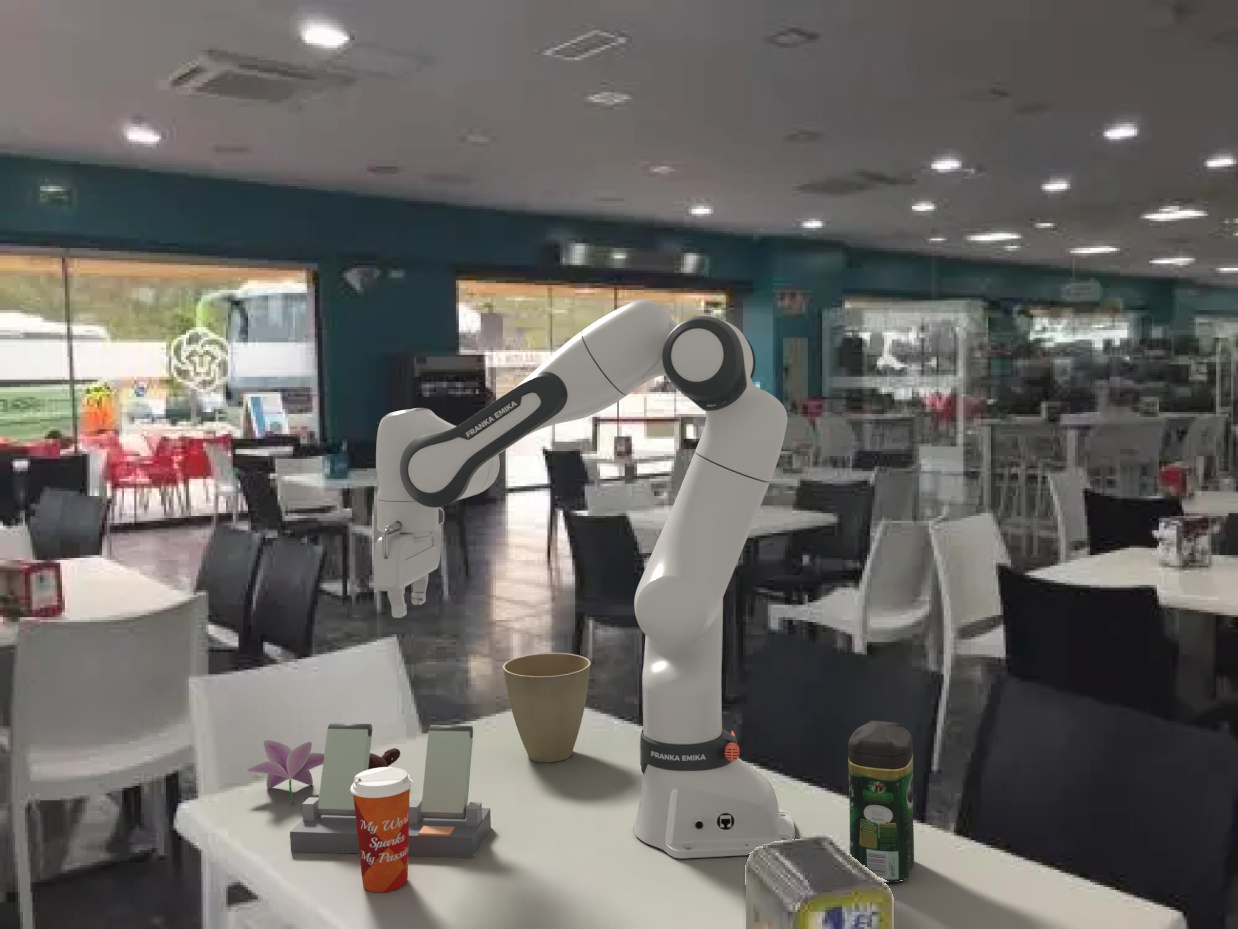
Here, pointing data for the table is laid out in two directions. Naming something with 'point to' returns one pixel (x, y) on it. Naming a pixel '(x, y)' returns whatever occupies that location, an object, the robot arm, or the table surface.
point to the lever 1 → (343, 766)
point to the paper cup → (382, 827)
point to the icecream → (383, 759)
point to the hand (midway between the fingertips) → (409, 610)
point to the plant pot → (547, 701)
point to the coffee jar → (882, 799)
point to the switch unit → (423, 832)
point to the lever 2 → (447, 772)
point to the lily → (288, 764)
